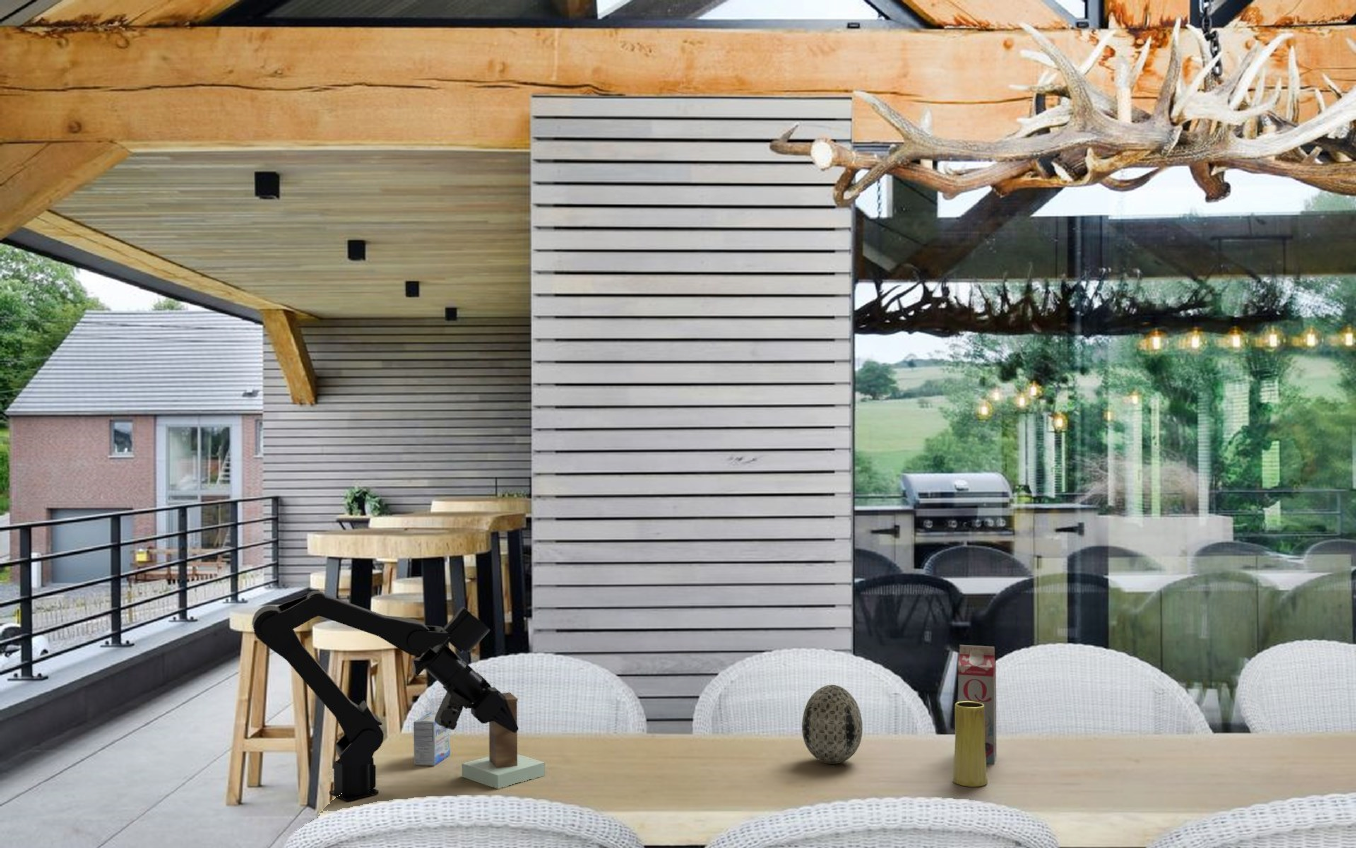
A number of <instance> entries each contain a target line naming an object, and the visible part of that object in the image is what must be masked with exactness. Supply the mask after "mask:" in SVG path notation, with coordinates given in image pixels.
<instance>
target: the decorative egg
mask: <svg viewBox="0 0 1356 848" xmlns="http://www.w3.org/2000/svg"><path fill="white" fill-rule="evenodd" d="M801 719H802V722H801V733H802V738H803V741H804V745H805V747H806V748H807V750H808V751H809V753H810V754H811V755H812V756H813V757H815V759H817V760H819V761H820V762H822V763H824V764H825V763H826V764H830V765H836V764H842V763H843V762H846V761H848V760H849V759H850V758H851V757H852V756H854V755H855V754H856V752H857V750H858V749H859V747H860V744H861V741H862V737H863V731H864V730H863V719H862V713H861V711H860V708H859V705H858V703H857V701H856V700H855V698H854V696H853V695H852V694H851V693H850V692H849V691H848V690H847V689H845V688H844V687H842V686H839V685H836V684H827V685H824V686H821V687H820V688H819V689H817V690H816V691H815V692H814V693H812V695H811V696H810V697H809V699H808V701H807V703H806V705H805V708H804V711H803V715H802V718H801Z"/></svg>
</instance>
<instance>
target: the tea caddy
mask: <svg viewBox="0 0 1356 848" xmlns="http://www.w3.org/2000/svg"><path fill="white" fill-rule="evenodd" d="M501 693H502V694H503V695H504V696H505V697H506V699H507V703H508V705H509V708H510V710H511V712H512V715H513V717H514V719H515V722H516V724H517V725H518V701H519V700H518V699H519V698H517V697H516V696H515V695H514V694H513V693H512V692H501ZM488 737H489V738H488V740H489V741H488V746H489V753H488V754H489V755H488V757H489V761H490V762H491V763H492V764H493V765H494V766H495V767H496V768H503V767H511V766H517V754H518V731H517V732H516V733H513V732H512V731H510V730H508V729H506V728H504V727H503V726H501V725H499V724H497V723H495V722H488Z"/></svg>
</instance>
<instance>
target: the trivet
mask: <svg viewBox="0 0 1356 848" xmlns="http://www.w3.org/2000/svg"><path fill="white" fill-rule="evenodd" d="M545 776H546V761H545V762H544V761H541V760H538V759H535V758H531V757H528V756H524V755H522V754H519V753H517V766H511V767H503V768H496V767H495V766H494V765H493V764H492V763H491V762H490V761H489V756H485V757H482V758H478V759H475V760H474V759H473V760H470V761H466V762H462V763H461V777H462V778H465V779H468V780H470V781H473V782H476V783H479V784H482V785H485V786H488V787H490V788H493V787H494V789H496V790H500V789H502V788H501V787H503V788H506V787H510V786H509V785H511V786H513V785H512V784H514V785H516V784H515V783H517V782H521V783H524V781H525V782H528V781H530V780H529V779H532V780H535V779H538V778H537V777H539V778H542V777H545ZM527 780H528V781H527Z"/></svg>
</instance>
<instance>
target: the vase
mask: <svg viewBox="0 0 1356 848" xmlns="http://www.w3.org/2000/svg"><path fill="white" fill-rule="evenodd" d="M954 725H955V726H954V729H955V730H954V755H953V756H954V757H953V778H952V781H953V782H954V783H955V784H956V785H959V786H962V787H970V788H971V787H972V788H979V787H983V786H985V785H987V784H988V777H987V776H988V775H987V763H986V754H985V720H984V704H982V703H979V702H974V701H960V702H958V701H957V702H956V703H955V704H954Z"/></svg>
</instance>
